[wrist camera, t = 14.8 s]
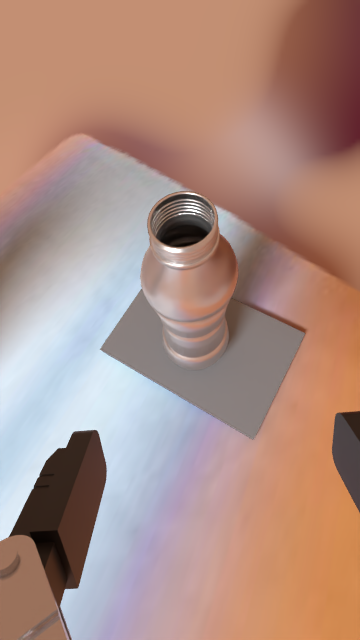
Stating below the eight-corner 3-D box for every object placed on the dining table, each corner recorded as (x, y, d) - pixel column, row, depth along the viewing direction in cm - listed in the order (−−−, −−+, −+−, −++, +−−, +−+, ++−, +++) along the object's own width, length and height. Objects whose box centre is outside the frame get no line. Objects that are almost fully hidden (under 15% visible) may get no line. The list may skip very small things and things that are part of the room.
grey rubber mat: (102, 351, 37) (100, 349, 36) (159, 266, 40) (159, 263, 40) (252, 439, 32) (253, 439, 31) (303, 335, 36) (305, 333, 35)
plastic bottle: (153, 357, 35) (92, 246, 17) (185, 304, 37) (161, 154, 19) (208, 386, 34) (207, 300, 15) (238, 330, 36) (269, 193, 17)
